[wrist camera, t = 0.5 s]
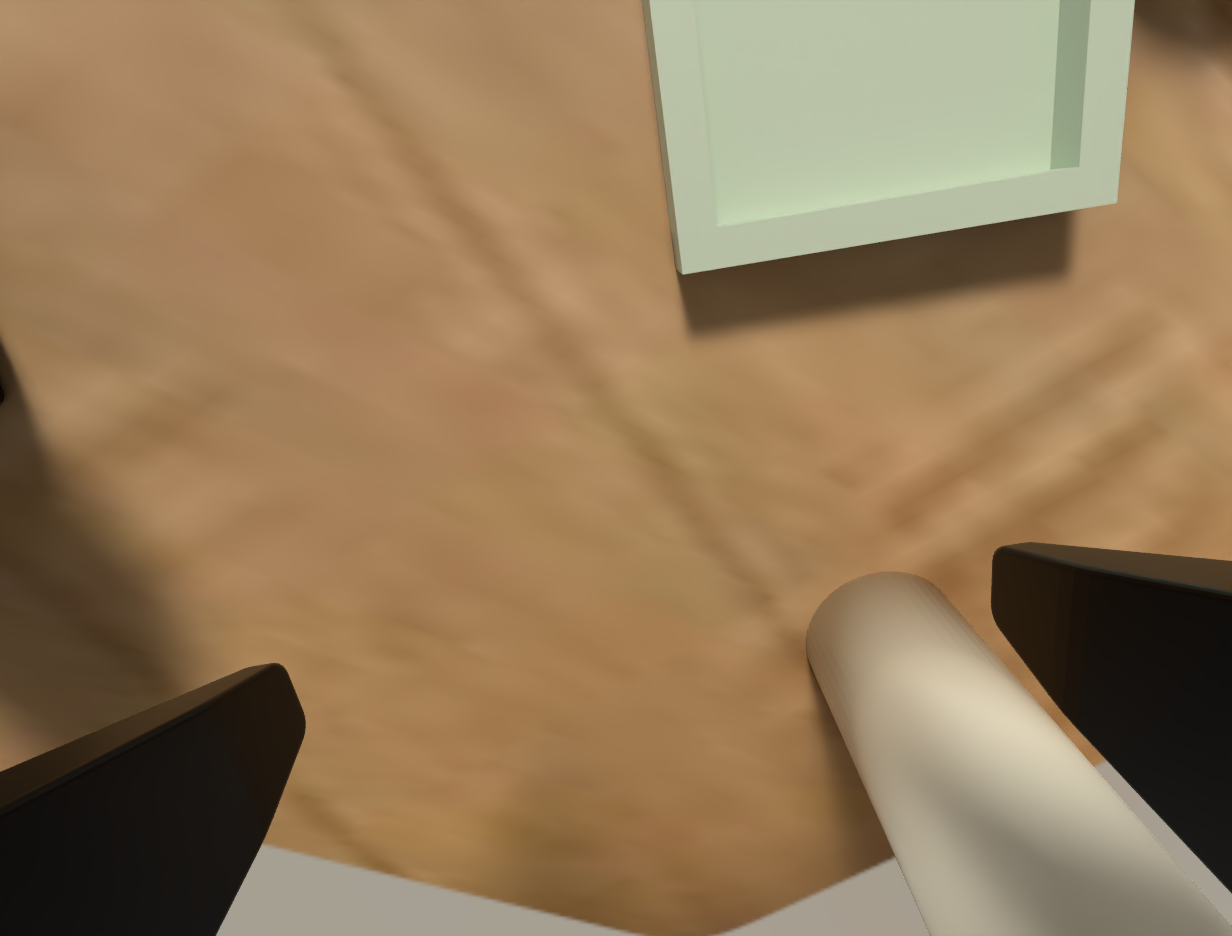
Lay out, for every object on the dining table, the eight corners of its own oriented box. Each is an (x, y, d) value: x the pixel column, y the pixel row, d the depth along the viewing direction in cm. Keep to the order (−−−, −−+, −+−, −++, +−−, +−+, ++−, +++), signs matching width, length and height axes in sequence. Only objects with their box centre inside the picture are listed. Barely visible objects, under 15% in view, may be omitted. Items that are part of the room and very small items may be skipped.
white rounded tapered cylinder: (810, 706, 25) (984, 1136, 14) (800, 583, 23) (992, 957, 12) (954, 687, 25) (1257, 1108, 13) (956, 561, 23) (1309, 920, 12)
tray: (675, 268, 20) (682, 274, 18) (614, -222, 16) (615, -279, 14) (1067, 203, 19) (1116, 202, 17) (1101, -318, 15) (1169, -392, 14)
